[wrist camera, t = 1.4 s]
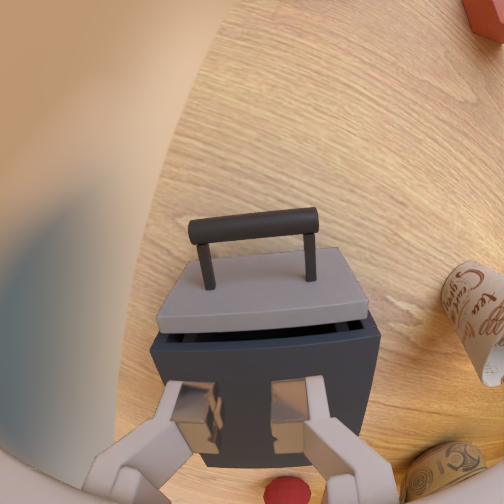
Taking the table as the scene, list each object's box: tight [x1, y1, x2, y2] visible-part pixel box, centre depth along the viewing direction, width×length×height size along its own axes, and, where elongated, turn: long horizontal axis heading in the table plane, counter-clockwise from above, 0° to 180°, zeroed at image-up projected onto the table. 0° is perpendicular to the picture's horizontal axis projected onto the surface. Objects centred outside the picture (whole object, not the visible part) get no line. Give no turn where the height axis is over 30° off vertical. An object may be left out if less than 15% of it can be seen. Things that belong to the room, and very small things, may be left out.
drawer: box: [156, 207, 369, 343], centre depth 20 cm, size 18×11×8 cm, turn 7°
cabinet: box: [150, 310, 381, 468], centre depth 21 cm, size 15×13×10 cm
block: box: [462, 0, 504, 44], centre depth 10 cm, size 4×4×4 cm
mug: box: [441, 261, 504, 387], centre depth 19 cm, size 8×13×10 cm, turn 50°
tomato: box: [263, 477, 311, 504], centre depth 34 cm, size 8×8×8 cm
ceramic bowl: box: [399, 441, 487, 504], centre depth 28 cm, size 22×17×15 cm
